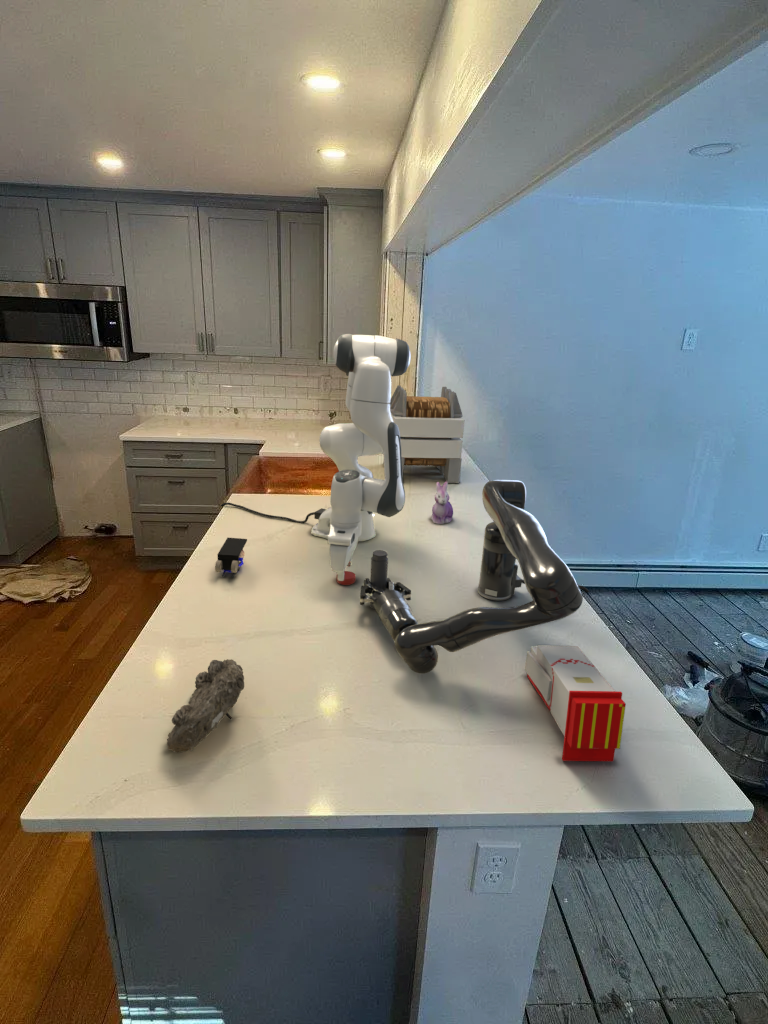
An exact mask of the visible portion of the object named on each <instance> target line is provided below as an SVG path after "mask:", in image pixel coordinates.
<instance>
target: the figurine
mask: <svg viewBox="0 0 768 1024" xmlns="http://www.w3.org/2000/svg"><path fill="white" fill-rule="evenodd" d="M448 486H449V483H448V482H447V481H446V480H445V481H444V483H443V484H442V485H441V484H440V482H439V481H437V482H435V487H436V492H435V493H434V494H435V495H434V501H435V503H434V504H433V506H432V509H431V513H432V514H431V517H430V519H431V520H432V522H433V523H434V524H439V525H443V524H448V523H450V522H452V520H453V516H454V507H453V505H452V504H451V502H450V501H449V500H450V494H449V492H448Z"/></svg>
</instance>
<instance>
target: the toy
mask: <svg viewBox="0 0 768 1024" xmlns="http://www.w3.org/2000/svg"><path fill="white" fill-rule="evenodd" d="M524 671H525V672H526V674H527V675H526V677H527V678H528V680H529V682H530V683H531V685H532V686H533V687H534V689H535V690H536V692H537V694H538V695H539V697H540V698H541V699H542V701H543V703H544V705H545V706H546V707H547V709H548V711H550V714H551V716H552V717H553V719H554V722H555V723H556V725H557V726H558V728H559V730H560V731H561V733H562V735H563V747H562V754H561V760H562V761H563V762H614V760H615V759H614V758H615V751H616V750H617V749H618V750H620V749H621V743H622V735H623V727H624V720H625V713H626V702H625V701H624V699H623V692H622V691H620V690H619V691H618V690H617V691H616V690H615V689H614V687H612V685H611V684H610V683H609V682H608V680H607V679H606V678H605V677H604V675H602V673H601V672H600V671H599V670H598V668H597V667H596V666H595V665H594V664H593V663H592V661H591V660H590V659H589V657H587V655H586V654H585V653H584V652H583V650H582V649H581V648H580V647H579V646H578V645H541V644H540V645H536V646H534V645H533V646H530V650H529V651H526V656H525V664H524Z"/></svg>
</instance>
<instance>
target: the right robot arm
mask: <svg viewBox="0 0 768 1024" xmlns="http://www.w3.org/2000/svg"><path fill="white" fill-rule="evenodd" d="M481 497H482V499H481V500H482V504H483V507H484V509H485V512H486V513H487V515H488V516H489V518H490V519H491V520H492V521H491V522H489V523H488V524H486V526H485V528H484V535H483V544H482V553H481V561H480V572H479V578H478V579H479V580H478V587H477V592H478V595H480V596H481V597H483V598H484V599H487V600H491V601H497V602H499V601H500V602H501V601H506V600H509V599H511V598H512V597H515V591H516V589H517V588H519V589H520V588H522V584H523V585H525V588H526V590H527V592H528V594H529V596H530V598H531V601H529V602H526V603H524V604H521V605H516V606H509V607H507V606H506V607H494V606H493V607H492V606H478V607H472V608H469V609H465V610H462V611H460V612H459V613H456V614H454V615H451V616H449V617H447V618H445V619H441V620H433V621H429V622H421V623H419V621H418V619H417V618H416V616H415V614H414V613H413V610H412V608H411V606H410V605H409V603H408V602H407V601H410V600H412V590H411V589H410V588H409V587H407V586H406V585H404V584H403V583H402V582H400V581H396V582H394V581H392V580H391V578H390V577H387V589H379V588H378V587H377V586H373V585H372V583H371V582H370V578H369V577H366V578H365V579H364V580H363V585H360V592H359V605H360V606H365V603H371V604H372V605H374V607H375V609H374V610H375V612H376V613H377V616H378V617H379V619H380V621H381V623H382V624H383V626H384V627H385V629H386V630H387V632H388V633H389V636H390V637H391V639H392V640H393V641H394V648H395V650H396V652H397V653H398V655H399V656H400V657H401V658H402V660H403V661H404V662H405V663H406V665H407V666H408V668H409V669H410V670H412V671H413V672H414V673H416V674H419V675H420V674H423V675H424V674H428V673H431V672H432V671H433V670H434V669H435V668H436V667H437V665H438V661H439V653H438V649H437V647H436V646H439V647H441V648H443V649H444V650H446V651H447V652H449V653H455V652H459V651H461V650H464V649H466V648H469V647H471V646H473V645H475V644H478V643H480V642H483V641H486V640H488V639H490V638H493V637H496V636H500V635H503V634H507V633H511V632H516V631H519V630H525V629H529V628H532V627H536V626H540V625H544V624H549V623H553V622H555V621H559V620H562V619H565V618H567V617H569V616H571V615H573V614H574V613H576V612H577V611H578V610H579V609H580V608H581V606H582V605H583V598H584V596H583V593H582V591H583V592H585V593H590V590H589V589H588V588H587V587H586V586H583V585H579V584H578V583H577V581H576V579H575V577H574V574H573V573H572V570H571V569H570V567H569V565H567V564H566V563H565V562H564V560H563V559H562V558H561V557H560V556H559V555H558V554H557V553H556V552H555V550H554V549H553V548H552V547H551V546H550V544H549V539H548V536H547V534H546V532H545V529H544V528H543V526H542V525H541V523H540V521H539V520H538V519H537V517H536V516H534V515H533V514H532V513H531V512H528V511H527V510H525V508H526V502H527V487H526V485H525V483H524V482H523V481H522V480H515V479H514V480H513V479H512V480H511V479H493V480H489V481H487V482H486V483H485V484H484V486H483V488H482V491H481ZM517 562H518V564H517ZM519 568H520V571H521V574H522V578H523V579H522V578H521V577H520V576H519V575H518V570H519ZM370 596H371V597H370Z"/></svg>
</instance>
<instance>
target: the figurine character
mask: <svg viewBox="0 0 768 1024" xmlns="http://www.w3.org/2000/svg"><path fill="white" fill-rule="evenodd" d="M247 542H248V538H240V537H226V539H225V541H224V543H223V544H222V546H221V547H220V549H219V551H218V552H217V560H216V562H215V564H214V572H215V573H221V577H222V578H224V577H225V576H226V574H227V573H230V574H231V573H232V574H231V578H234V577H235V575H236V573H237V572H239V571H240V567H242V566H243V565H244V564H245V562H244V558H245V551H244V547H245V546H246V544H247Z"/></svg>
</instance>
